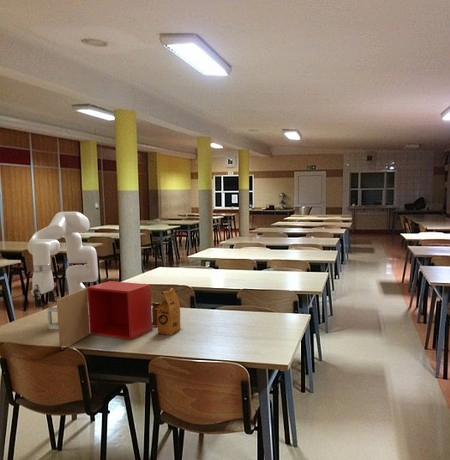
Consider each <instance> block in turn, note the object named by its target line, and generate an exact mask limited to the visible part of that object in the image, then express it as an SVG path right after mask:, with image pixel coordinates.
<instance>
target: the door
mask: <svg viewBox="0 0 450 460" xmlns="http://www.w3.org/2000/svg"><path fill="white" fill-rule="evenodd" d="M46 310H47V323H48V330H58V341H59V347H60V346H66V347H68V348H69V347H71V346H73V345H74V344H76V343H77V342H79V341H81V340H82V339H85V338H86V337H87V336H89V335H91V334H90V325H89V309H88V292H87V287H85V288H84V289H82V290H79V291H77V292H74V293H72V294H70V295H69V294H67V295H65V296H63V297H60V298H57V299H56V307H52V306H50V307H49V306H48V307H47V309H46ZM52 312H53V313H57V314H56V315H57V324H53V318H52V317H53V316H52Z"/></svg>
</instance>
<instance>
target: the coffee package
mask: <svg viewBox="0 0 450 460" xmlns="http://www.w3.org/2000/svg"><path fill="white" fill-rule="evenodd" d="M160 294H161V295H162V299H161V301H160V302H161V303H160V305H159V307H158V311H157V319H158V326H157V332H158V334H162V335H166V336H168V335H169V336H171V335H173V334H175V333H178V332H179V331H180V330H181V329H182V327H181V306H180V299H179V297H178V295H177V293H176V291H175V289H174V288H173V287H170V289H169V290H165V291H162V292H161V293H160Z"/></svg>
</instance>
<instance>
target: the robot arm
mask: <svg viewBox="0 0 450 460" xmlns="http://www.w3.org/2000/svg"><path fill="white" fill-rule="evenodd" d="M90 225H91V224H90V221H89V218H88V217H87V216H86V215H84V214H83V213H82V212H79V211H58V212H57V213H56V214H55V215H54V216H53V218H52V219H51V221H50V222H49V225H48V226H46V227H44V228H41V229H40V230H38V231H36V232H34V233H33V234H32V236H31V237H30V240H29V241H28V243H27V251H28V252H29V254H30V255H32V264H33V272H32V273H33V274H32V279H31V280H32V281H31V282H32V284H31V285H32V289H31V290H30V293H31V297H32V298H33V299H34V307H35V308H42V307H43V304H42V303H43V302H42V298H41V297H42V295H43V294H46V293H47V299H48V300H47V301H48V302H49V303H55V302H56V296H55V294H56V289H57V282H55V281H54V276H53V271H52V261H51V256H54V255H57V254H58V253H59V252H60V250H61V244H60V242H59V239H62V238H63V237H64V240H65V249H66V257H67V261H68V263H70V264H73V265H70V266H68V267H67V268H66V269H65V277H66V281H67V288H68V295H70V294H72V293H74V292H77V291H79V290H82V289H84V288H86V285H84V283H94V282H97V280H98V278H99V267H98V266H99V265H98V253H97V250H96V247H94V246H91V245H83V241H82V236H81V234H80V233H83V234H84V233H87V232H88V231H89V229H90V227H91V226H90ZM74 264H76V265H74Z"/></svg>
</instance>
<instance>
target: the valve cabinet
mask: <svg viewBox="0 0 450 460" xmlns="http://www.w3.org/2000/svg"><path fill="white" fill-rule="evenodd" d="M86 288H87V296H88V313H89V329H90V334H89V335H98V336H102V337H103V336H104V337H110V338H117V339H124V340H130V341H131V340H134V339H136V338H138V337H141V336H143V335H144V334H147V333H149V332H151V331H153V327H152V322H153V320H152V291H151V290H152V289H151V284H150V283H141V282H140V283H139V282H126V281H114V280H109V281H105V282H101V283H98V284H95V285H91V286H87V287H86Z"/></svg>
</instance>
